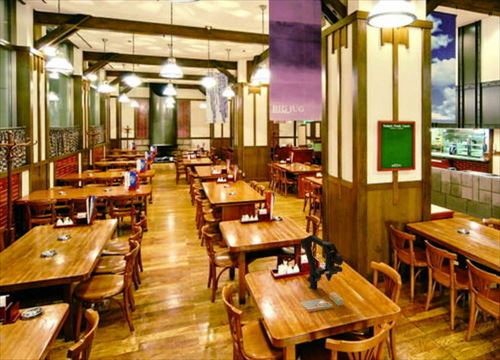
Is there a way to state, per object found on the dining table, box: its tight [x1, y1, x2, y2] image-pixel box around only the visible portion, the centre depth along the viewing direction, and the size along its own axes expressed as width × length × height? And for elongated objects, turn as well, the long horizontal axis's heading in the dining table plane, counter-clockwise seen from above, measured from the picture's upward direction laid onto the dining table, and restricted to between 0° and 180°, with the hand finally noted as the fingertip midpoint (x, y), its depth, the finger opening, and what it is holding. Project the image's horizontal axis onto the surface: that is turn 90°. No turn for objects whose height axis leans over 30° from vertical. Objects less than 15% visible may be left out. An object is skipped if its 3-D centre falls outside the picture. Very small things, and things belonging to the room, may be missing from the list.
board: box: [299, 297, 333, 313], centre depth 243 cm, size 13×18×3 cm
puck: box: [319, 300, 328, 306], centre depth 242 cm, size 5×5×2 cm
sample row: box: [329, 291, 344, 307], centre depth 248 cm, size 11×5×5 cm, turn 18°
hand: (328, 281), depth 254 cm, fingers closed
